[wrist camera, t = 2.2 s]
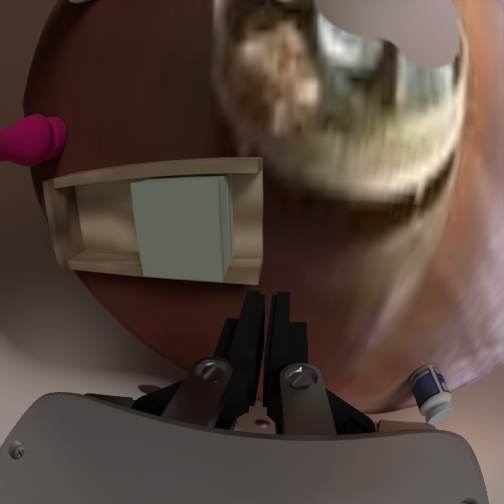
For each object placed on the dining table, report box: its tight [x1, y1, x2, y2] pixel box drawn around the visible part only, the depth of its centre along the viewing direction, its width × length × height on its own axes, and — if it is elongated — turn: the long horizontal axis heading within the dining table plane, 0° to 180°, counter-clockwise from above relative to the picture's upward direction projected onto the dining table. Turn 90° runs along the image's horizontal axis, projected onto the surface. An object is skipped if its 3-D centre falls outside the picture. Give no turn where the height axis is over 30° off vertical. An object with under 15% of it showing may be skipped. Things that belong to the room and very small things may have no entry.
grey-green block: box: [131, 173, 235, 282], centre depth 26 cm, size 9×8×6 cm
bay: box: [43, 157, 263, 285], centre depth 28 cm, size 12×26×6 cm, turn 90°
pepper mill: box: [0, 114, 66, 166], centre depth 20 cm, size 7×7×20 cm
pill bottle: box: [410, 364, 454, 426], centre depth 31 cm, size 6×6×10 cm
